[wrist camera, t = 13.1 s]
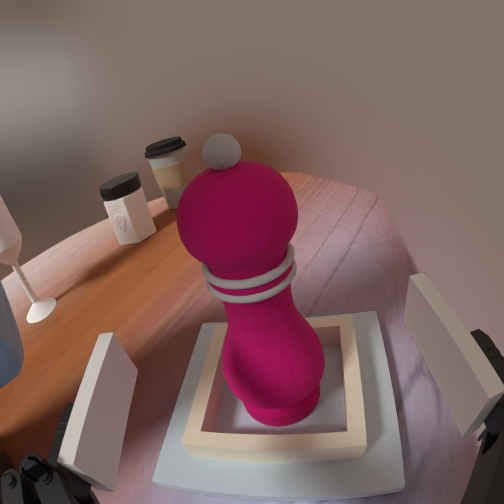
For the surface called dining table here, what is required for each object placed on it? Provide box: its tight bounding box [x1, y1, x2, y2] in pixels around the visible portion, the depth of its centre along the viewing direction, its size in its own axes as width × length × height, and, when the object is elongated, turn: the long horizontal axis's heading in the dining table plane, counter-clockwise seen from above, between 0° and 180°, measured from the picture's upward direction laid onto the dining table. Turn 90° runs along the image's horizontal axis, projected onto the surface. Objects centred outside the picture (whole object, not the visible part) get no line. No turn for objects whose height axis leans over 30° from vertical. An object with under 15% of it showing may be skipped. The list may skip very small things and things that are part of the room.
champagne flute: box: [0, 195, 56, 323], centre depth 38 cm, size 7×7×24 cm
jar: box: [99, 172, 157, 245], centre depth 59 cm, size 9×8×12 cm
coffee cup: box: [145, 137, 190, 209], centre depth 68 cm, size 9×9×15 cm
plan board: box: [152, 311, 405, 501], centre depth 24 cm, size 18×18×4 cm
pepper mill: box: [177, 134, 325, 427], centre depth 19 cm, size 7×7×20 cm
